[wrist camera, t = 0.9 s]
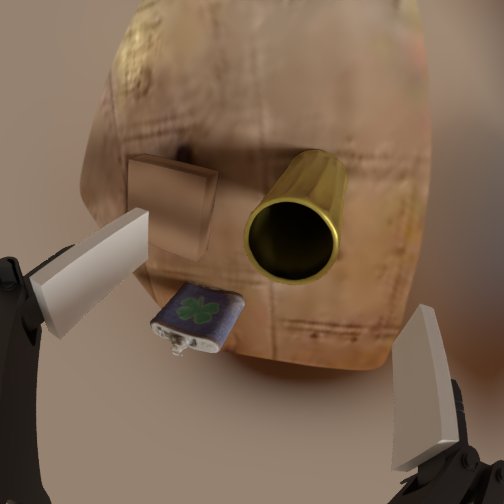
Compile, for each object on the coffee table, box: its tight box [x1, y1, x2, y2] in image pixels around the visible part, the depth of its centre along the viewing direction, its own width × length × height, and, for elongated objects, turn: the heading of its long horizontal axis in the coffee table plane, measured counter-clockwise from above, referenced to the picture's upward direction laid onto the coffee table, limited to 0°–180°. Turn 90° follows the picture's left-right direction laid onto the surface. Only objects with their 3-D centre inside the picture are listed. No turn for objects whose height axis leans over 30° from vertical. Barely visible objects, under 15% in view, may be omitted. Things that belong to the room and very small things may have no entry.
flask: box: [150, 281, 245, 356], centre depth 34 cm, size 9×3×11 cm, turn 88°
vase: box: [244, 150, 347, 285], centre depth 21 cm, size 6×6×14 cm
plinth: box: [128, 154, 219, 262], centre depth 32 cm, size 10×10×3 cm
